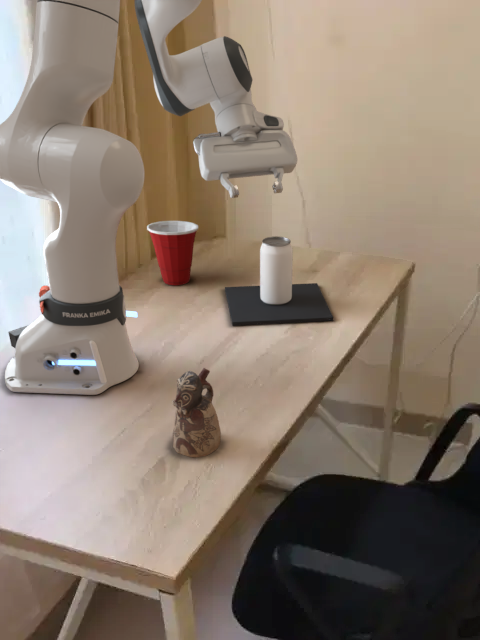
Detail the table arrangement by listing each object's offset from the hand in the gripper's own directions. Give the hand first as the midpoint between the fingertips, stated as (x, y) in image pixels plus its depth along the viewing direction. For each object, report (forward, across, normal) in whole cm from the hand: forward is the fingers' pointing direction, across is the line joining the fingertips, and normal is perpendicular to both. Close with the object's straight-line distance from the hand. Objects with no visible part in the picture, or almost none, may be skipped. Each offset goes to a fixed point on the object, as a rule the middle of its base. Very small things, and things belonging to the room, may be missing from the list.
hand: (257, 194), depth 151 cm
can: (+21, 0, +5) cm, 21 cm away
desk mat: (+22, 0, +5) cm, 22 cm away
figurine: (+53, -31, -26) cm, 67 cm away
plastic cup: (+8, -16, +19) cm, 26 cm away
